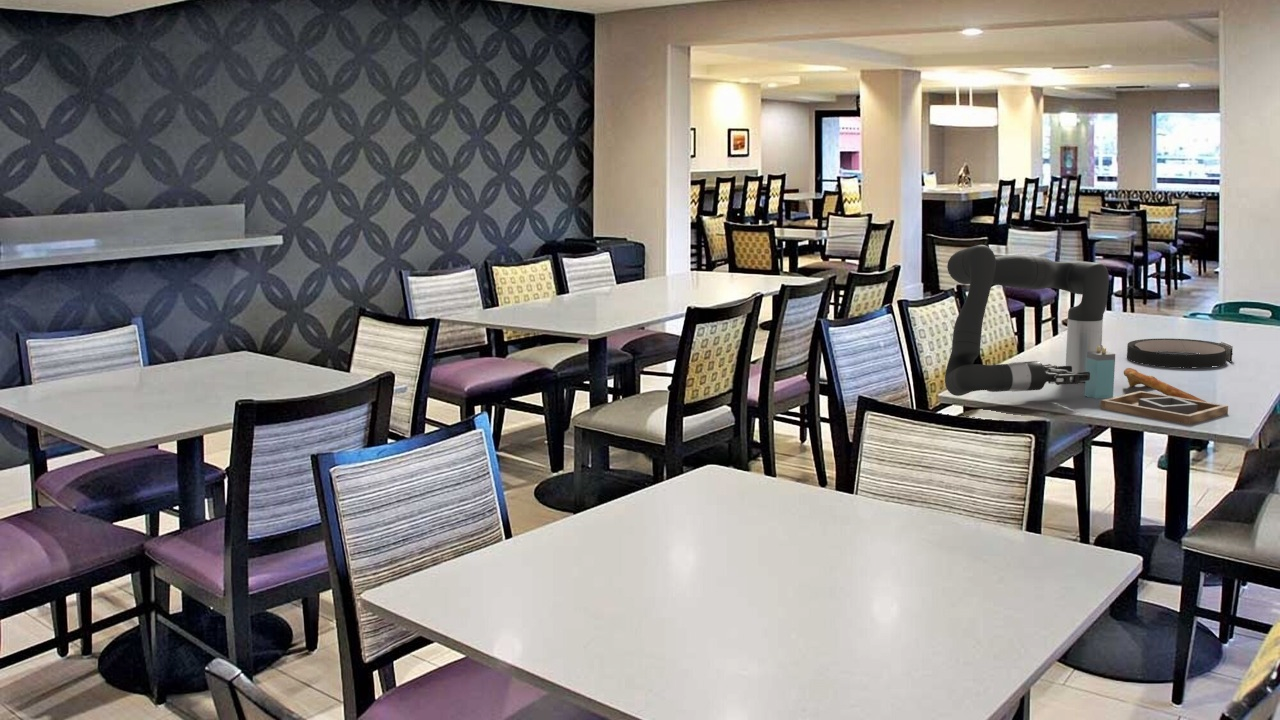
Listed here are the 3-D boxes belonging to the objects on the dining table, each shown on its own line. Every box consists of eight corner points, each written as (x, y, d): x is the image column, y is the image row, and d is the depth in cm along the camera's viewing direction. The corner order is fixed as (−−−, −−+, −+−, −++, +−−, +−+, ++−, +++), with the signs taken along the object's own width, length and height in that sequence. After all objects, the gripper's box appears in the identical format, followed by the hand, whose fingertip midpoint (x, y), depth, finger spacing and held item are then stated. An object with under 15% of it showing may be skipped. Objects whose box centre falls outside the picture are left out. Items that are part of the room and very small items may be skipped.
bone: (1218, 413, 283) (1203, 379, 281) (1187, 429, 284) (1172, 394, 282) (1154, 382, 316) (1140, 351, 313) (1126, 396, 316) (1112, 365, 314)
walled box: (1139, 400, 296) (1140, 390, 296) (1227, 415, 278) (1228, 405, 277) (1100, 409, 287) (1101, 400, 286) (1188, 426, 268) (1189, 416, 268)
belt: (1252, 368, 336) (1253, 351, 335) (1150, 370, 336) (1151, 353, 335) (1205, 351, 365) (1206, 335, 364) (1111, 353, 365) (1112, 337, 364)
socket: (1138, 408, 285) (1138, 398, 285) (1172, 406, 287) (1173, 396, 286) (1161, 416, 276) (1162, 406, 275) (1197, 414, 277) (1197, 404, 277)
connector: (1084, 396, 302) (1087, 346, 300) (1102, 395, 303) (1104, 345, 301) (1095, 400, 297) (1098, 349, 295) (1112, 399, 298) (1115, 348, 296)
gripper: (1037, 367, 288) (1096, 363, 291) (1009, 357, 302) (1066, 354, 304) (1036, 396, 289) (1094, 392, 292) (1008, 385, 303) (1064, 381, 306)
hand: (1080, 372), depth 298 cm, fingers open, 8 cm apart
